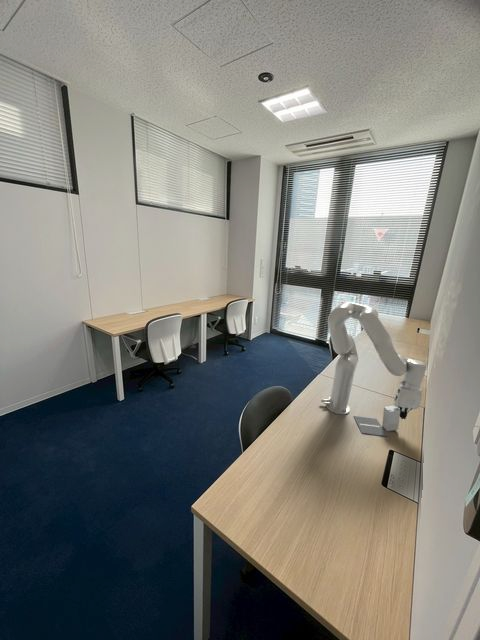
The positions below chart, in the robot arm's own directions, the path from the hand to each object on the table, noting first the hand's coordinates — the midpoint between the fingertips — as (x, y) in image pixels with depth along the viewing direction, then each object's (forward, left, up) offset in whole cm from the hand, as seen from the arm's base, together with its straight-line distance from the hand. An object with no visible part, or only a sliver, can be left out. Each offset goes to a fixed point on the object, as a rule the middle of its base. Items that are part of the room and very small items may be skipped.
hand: (402, 417), depth 131 cm
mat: (-14, 0, -8) cm, 16 cm away
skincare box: (-4, 0, -8) cm, 9 cm away
